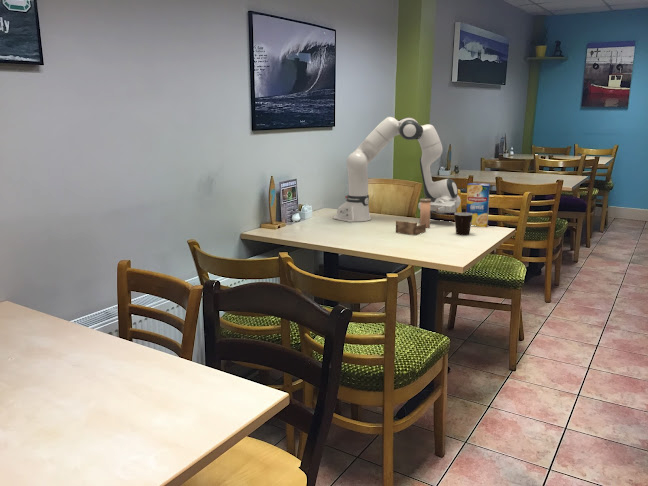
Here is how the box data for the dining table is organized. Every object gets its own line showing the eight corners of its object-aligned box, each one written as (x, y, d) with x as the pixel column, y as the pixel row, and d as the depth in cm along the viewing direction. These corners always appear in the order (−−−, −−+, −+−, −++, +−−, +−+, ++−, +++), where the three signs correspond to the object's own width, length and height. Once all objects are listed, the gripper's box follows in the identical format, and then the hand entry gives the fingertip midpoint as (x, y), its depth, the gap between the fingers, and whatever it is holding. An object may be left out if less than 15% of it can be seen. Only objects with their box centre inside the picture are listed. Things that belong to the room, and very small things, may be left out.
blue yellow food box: (487, 227, 283) (489, 185, 278) (465, 226, 287) (467, 184, 282) (487, 224, 290) (490, 183, 285) (466, 223, 293) (468, 183, 288)
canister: (417, 227, 286) (418, 199, 282) (422, 225, 290) (423, 198, 286) (427, 228, 282) (427, 200, 279) (432, 227, 286) (432, 198, 283)
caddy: (395, 232, 275) (395, 220, 273) (406, 229, 282) (406, 217, 281) (415, 235, 268) (415, 223, 266) (425, 231, 275) (425, 220, 274)
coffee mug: (459, 231, 275) (460, 211, 272) (474, 233, 269) (475, 213, 266) (447, 235, 267) (447, 215, 265) (462, 237, 261) (463, 217, 259)
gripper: (425, 198, 303) (412, 201, 292) (459, 201, 290) (447, 204, 280) (425, 209, 304) (412, 213, 294) (458, 212, 291) (446, 216, 281)
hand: (429, 208), depth 287 cm, fingers open, 8 cm apart
